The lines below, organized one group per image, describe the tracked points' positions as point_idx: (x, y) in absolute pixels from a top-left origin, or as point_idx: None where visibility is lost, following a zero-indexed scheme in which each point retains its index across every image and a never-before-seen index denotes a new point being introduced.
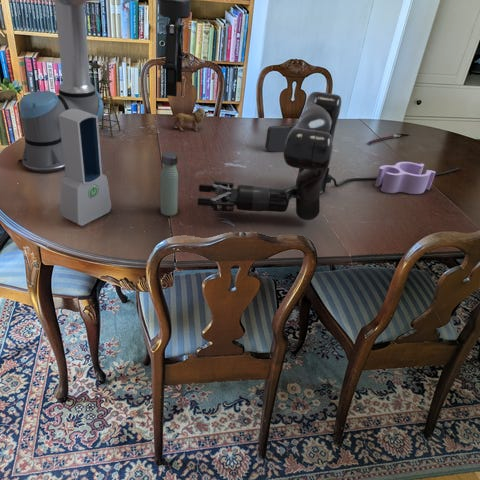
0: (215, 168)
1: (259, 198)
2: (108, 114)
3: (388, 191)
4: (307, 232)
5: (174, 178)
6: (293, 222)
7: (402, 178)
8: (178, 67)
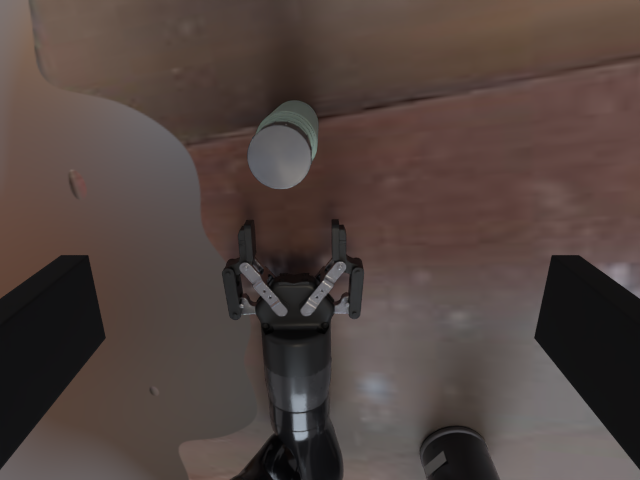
0: (588, 239)
1: (267, 380)
2: None
3: None
4: (256, 427)
5: None
6: None
7: None
8: (626, 411)
